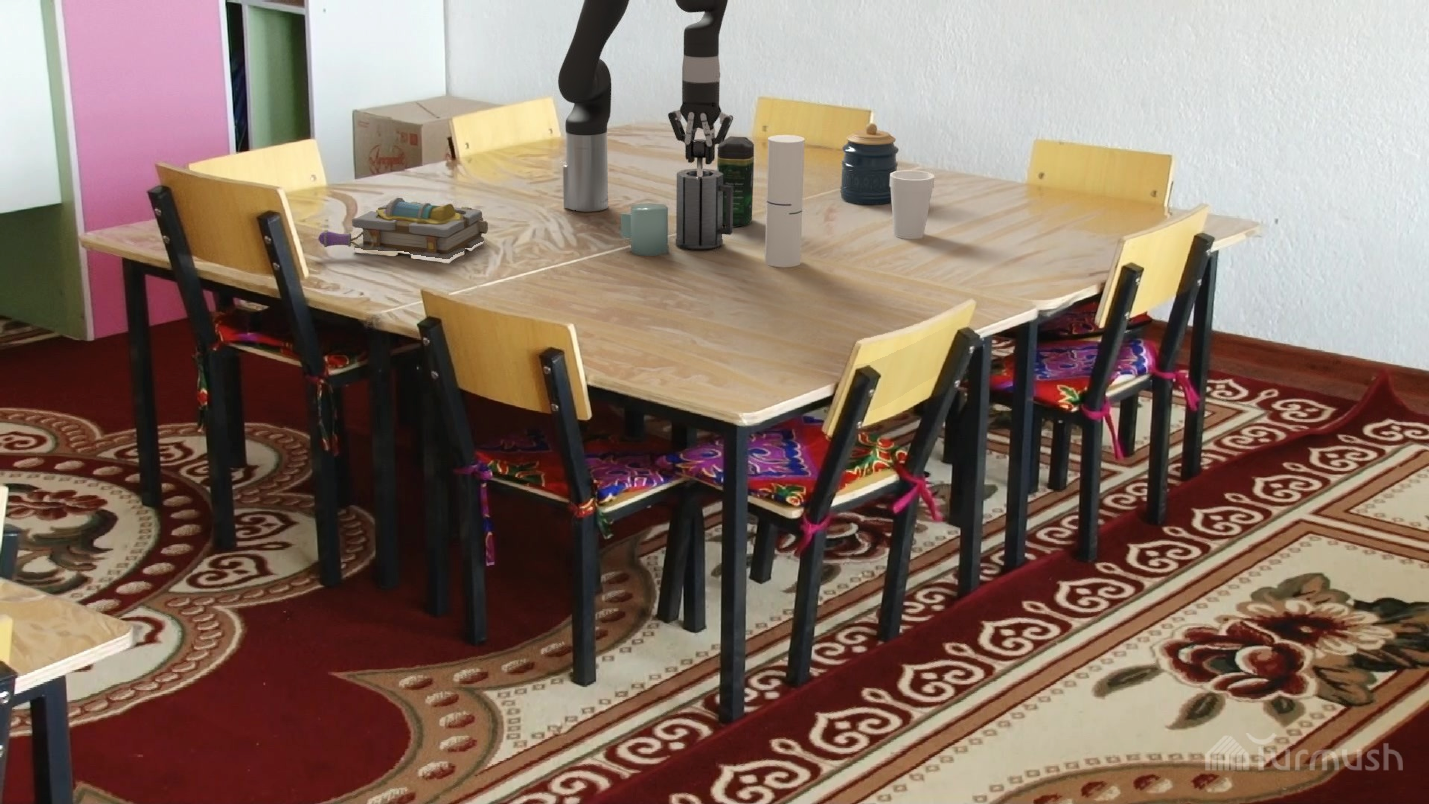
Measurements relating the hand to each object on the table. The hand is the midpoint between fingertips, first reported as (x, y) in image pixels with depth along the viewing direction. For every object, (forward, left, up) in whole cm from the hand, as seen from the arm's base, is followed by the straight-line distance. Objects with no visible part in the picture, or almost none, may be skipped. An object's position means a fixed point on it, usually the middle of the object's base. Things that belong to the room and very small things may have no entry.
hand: (700, 162), depth 322 cm
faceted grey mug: (+1, 0, -17) cm, 17 cm away
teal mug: (-9, -8, -17) cm, 21 cm away
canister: (+23, +52, -18) cm, 60 cm away
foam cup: (+39, +24, -18) cm, 49 cm away
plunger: (0, 0, -13) cm, 13 cm away
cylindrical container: (+20, -6, -18) cm, 27 cm away
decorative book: (-55, -25, -18) cm, 63 cm away
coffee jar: (+1, +20, -18) cm, 27 cm away
